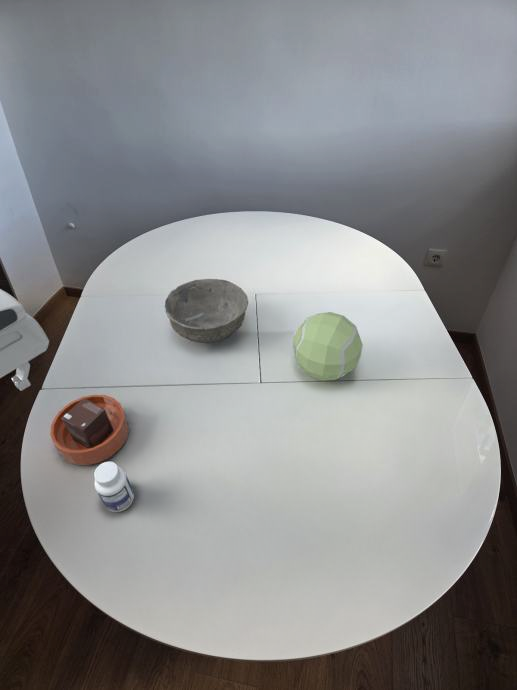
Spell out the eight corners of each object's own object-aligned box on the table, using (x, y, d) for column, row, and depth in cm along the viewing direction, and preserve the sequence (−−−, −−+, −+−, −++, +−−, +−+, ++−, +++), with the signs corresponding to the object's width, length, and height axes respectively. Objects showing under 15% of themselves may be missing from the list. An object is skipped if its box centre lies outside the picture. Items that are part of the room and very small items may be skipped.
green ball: (282, 379, 100) (284, 331, 90) (306, 340, 110) (310, 293, 100) (344, 401, 96) (353, 353, 85) (363, 358, 105) (373, 310, 95)
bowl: (262, 319, 116) (262, 289, 110) (223, 369, 103) (221, 338, 96) (198, 298, 123) (194, 269, 117) (154, 342, 110) (146, 312, 103)
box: (114, 430, 90) (105, 408, 85) (93, 452, 86) (82, 430, 81) (94, 418, 92) (84, 396, 87) (72, 439, 88) (60, 417, 83)
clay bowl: (85, 480, 82) (77, 466, 79) (45, 441, 89) (36, 426, 86) (143, 431, 90) (138, 417, 87) (102, 399, 97) (96, 384, 94)
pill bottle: (109, 485, 82) (95, 456, 75) (137, 485, 81) (126, 457, 75) (100, 512, 78) (85, 485, 71) (130, 513, 78) (117, 486, 71)
